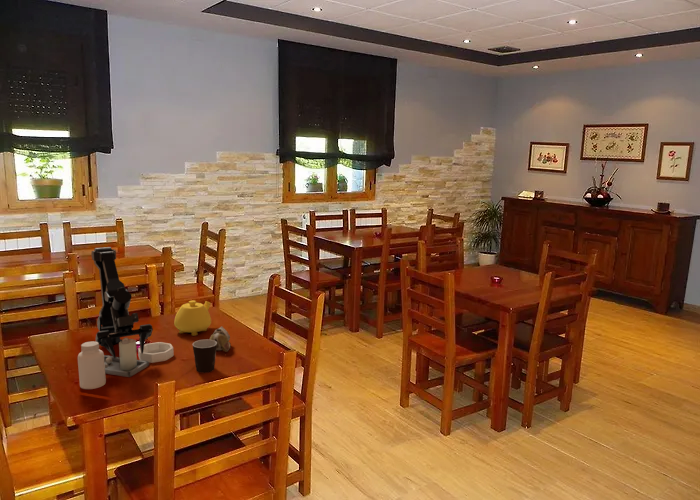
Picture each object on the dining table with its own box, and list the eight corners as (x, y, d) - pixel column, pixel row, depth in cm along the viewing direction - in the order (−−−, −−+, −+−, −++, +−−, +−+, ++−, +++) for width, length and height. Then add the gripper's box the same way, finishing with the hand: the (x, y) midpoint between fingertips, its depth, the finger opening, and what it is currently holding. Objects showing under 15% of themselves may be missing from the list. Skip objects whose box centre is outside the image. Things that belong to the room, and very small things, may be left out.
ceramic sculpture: (234, 322, 223) (228, 337, 209) (235, 342, 225) (229, 357, 211) (208, 322, 223) (200, 337, 208) (209, 342, 225) (201, 357, 210)
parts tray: (83, 371, 192) (83, 363, 191) (105, 360, 202) (104, 352, 202) (129, 379, 187) (129, 370, 186) (149, 367, 197) (148, 359, 197)
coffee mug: (210, 375, 192) (210, 349, 190) (188, 372, 194) (188, 346, 192) (224, 363, 203) (224, 338, 202) (203, 360, 205) (203, 335, 203)
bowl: (132, 361, 202) (132, 351, 201) (152, 350, 213) (151, 340, 213) (160, 365, 199) (160, 355, 198) (178, 354, 210) (178, 344, 210)
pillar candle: (116, 371, 191) (115, 340, 189) (127, 365, 197) (125, 335, 194) (130, 373, 190) (128, 342, 188) (140, 367, 195) (139, 337, 193)
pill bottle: (85, 381, 184) (82, 339, 182) (109, 381, 185) (107, 339, 182) (75, 391, 177) (72, 348, 174) (100, 391, 177) (98, 348, 175)
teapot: (196, 320, 251) (195, 292, 249) (224, 325, 246) (223, 296, 243) (166, 333, 233) (165, 303, 231) (196, 339, 227) (195, 308, 225)
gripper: (95, 309, 187) (102, 350, 180) (150, 302, 197) (159, 340, 190) (92, 325, 195) (99, 364, 188) (146, 317, 205) (154, 354, 198)
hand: (129, 355), depth 191 cm, fingers open, 9 cm apart
